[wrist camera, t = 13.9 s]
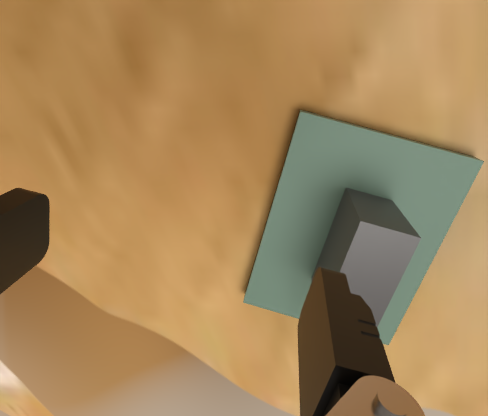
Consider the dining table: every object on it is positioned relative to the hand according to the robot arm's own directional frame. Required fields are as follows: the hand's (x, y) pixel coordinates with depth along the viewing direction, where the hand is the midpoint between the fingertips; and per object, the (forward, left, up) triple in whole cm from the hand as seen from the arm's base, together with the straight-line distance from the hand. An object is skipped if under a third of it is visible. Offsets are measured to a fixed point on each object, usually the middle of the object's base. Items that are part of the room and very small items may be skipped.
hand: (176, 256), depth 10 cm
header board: (+6, +10, -21) cm, 24 cm away
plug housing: (+8, +10, -19) cm, 23 cm away
